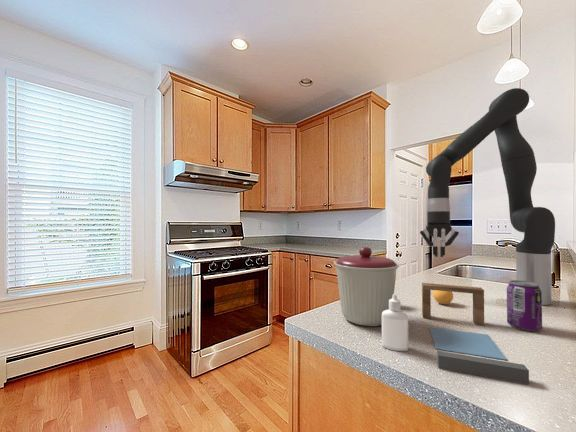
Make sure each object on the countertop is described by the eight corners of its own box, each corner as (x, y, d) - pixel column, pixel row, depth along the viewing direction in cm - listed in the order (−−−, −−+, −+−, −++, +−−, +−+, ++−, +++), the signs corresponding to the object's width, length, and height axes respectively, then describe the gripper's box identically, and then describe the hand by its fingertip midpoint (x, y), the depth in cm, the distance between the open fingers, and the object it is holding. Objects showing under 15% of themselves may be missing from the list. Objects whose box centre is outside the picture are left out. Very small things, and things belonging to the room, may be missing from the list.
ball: (432, 300, 97) (432, 283, 97) (451, 302, 94) (451, 285, 94) (434, 305, 91) (434, 287, 91) (454, 307, 89) (454, 289, 89)
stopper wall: (437, 363, 55) (437, 350, 55) (524, 378, 49) (524, 364, 49) (438, 368, 53) (438, 355, 53) (529, 384, 47) (528, 370, 47)
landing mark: (429, 327, 72) (429, 326, 72) (487, 335, 68) (487, 334, 68) (435, 349, 60) (435, 348, 60) (507, 360, 55) (507, 359, 55)
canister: (367, 338, 66) (366, 252, 66) (321, 315, 81) (321, 245, 82) (413, 324, 75) (413, 248, 75) (364, 306, 91) (364, 243, 91)
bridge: (422, 314, 82) (422, 282, 82) (481, 321, 76) (480, 287, 77) (423, 318, 79) (422, 285, 79) (484, 325, 74) (484, 290, 74)
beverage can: (549, 334, 68) (548, 286, 68) (517, 332, 70) (516, 285, 70) (530, 323, 75) (529, 280, 75) (501, 321, 77) (500, 279, 77)
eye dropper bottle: (401, 355, 58) (401, 299, 58) (378, 345, 62) (378, 293, 62) (411, 349, 60) (411, 295, 61) (388, 340, 65) (388, 290, 65)
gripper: (457, 210, 103) (457, 256, 103) (417, 211, 108) (418, 254, 108) (461, 210, 96) (462, 259, 96) (419, 210, 101) (419, 257, 101)
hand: (438, 256), depth 102 cm, fingers closed
